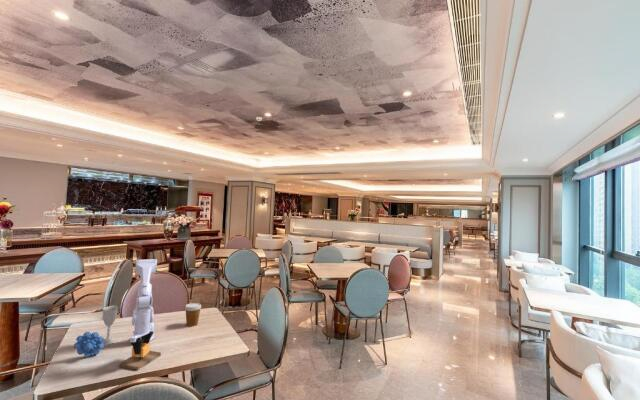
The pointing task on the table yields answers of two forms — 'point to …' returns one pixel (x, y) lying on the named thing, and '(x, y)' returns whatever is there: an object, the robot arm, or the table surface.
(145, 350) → the orange hollow frame block
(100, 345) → the grapes
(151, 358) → the keeper base
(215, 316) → the table surface
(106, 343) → the chalice
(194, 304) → the disposable coffee cup
